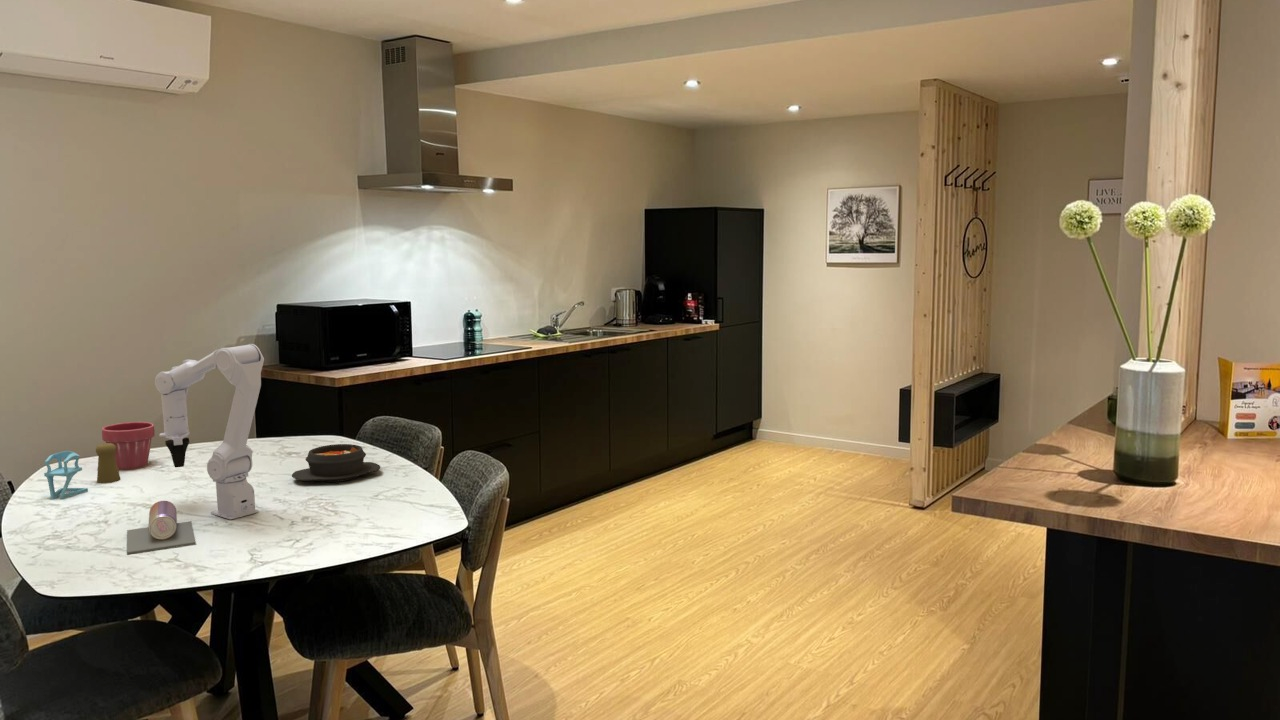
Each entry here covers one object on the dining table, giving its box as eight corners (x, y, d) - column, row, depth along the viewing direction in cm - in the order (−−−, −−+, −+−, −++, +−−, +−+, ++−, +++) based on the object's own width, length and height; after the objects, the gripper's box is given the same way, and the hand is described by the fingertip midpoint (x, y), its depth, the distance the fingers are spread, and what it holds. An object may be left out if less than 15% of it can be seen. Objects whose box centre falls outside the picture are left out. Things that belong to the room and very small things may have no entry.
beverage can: (171, 496, 230) (171, 511, 216) (180, 517, 231) (180, 534, 218) (145, 505, 227) (144, 521, 214) (154, 527, 229) (153, 544, 215)
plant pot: (166, 461, 294) (163, 421, 292) (138, 472, 280) (135, 431, 278) (124, 460, 295) (121, 420, 294) (94, 471, 282) (90, 430, 280)
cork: (91, 482, 269) (88, 445, 267) (108, 477, 275) (105, 441, 273) (109, 483, 268) (105, 446, 266) (125, 478, 273) (122, 442, 272)
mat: (127, 532, 224) (127, 530, 224) (191, 523, 231) (191, 521, 231) (126, 554, 208) (126, 552, 208) (195, 544, 215) (195, 542, 215)
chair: (42, 499, 253) (37, 456, 251) (61, 490, 261) (57, 449, 259) (69, 499, 252) (65, 456, 250) (88, 490, 260) (84, 449, 259)
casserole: (372, 465, 287) (371, 438, 286) (387, 478, 271) (386, 450, 270) (287, 475, 275) (285, 448, 274) (297, 490, 259) (295, 461, 258)
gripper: (157, 412, 247) (161, 462, 249) (158, 422, 235) (163, 474, 237) (186, 410, 251) (190, 459, 253) (189, 419, 238) (193, 471, 240)
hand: (179, 466), depth 245 cm, fingers closed
